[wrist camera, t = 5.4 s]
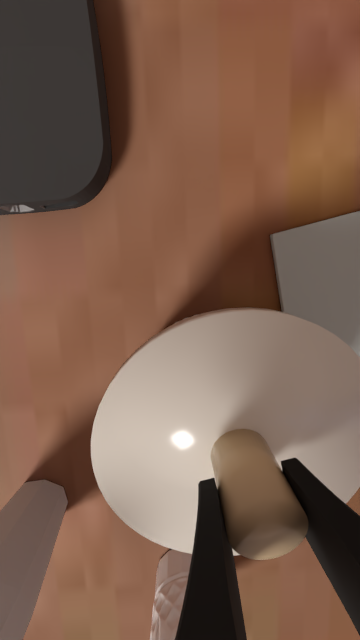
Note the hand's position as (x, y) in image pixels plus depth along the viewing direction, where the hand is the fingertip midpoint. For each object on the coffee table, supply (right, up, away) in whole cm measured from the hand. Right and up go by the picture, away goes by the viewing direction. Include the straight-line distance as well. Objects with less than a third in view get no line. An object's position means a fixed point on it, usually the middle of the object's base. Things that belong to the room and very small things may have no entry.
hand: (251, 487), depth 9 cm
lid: (0, +1, +2) cm, 2 cm away
